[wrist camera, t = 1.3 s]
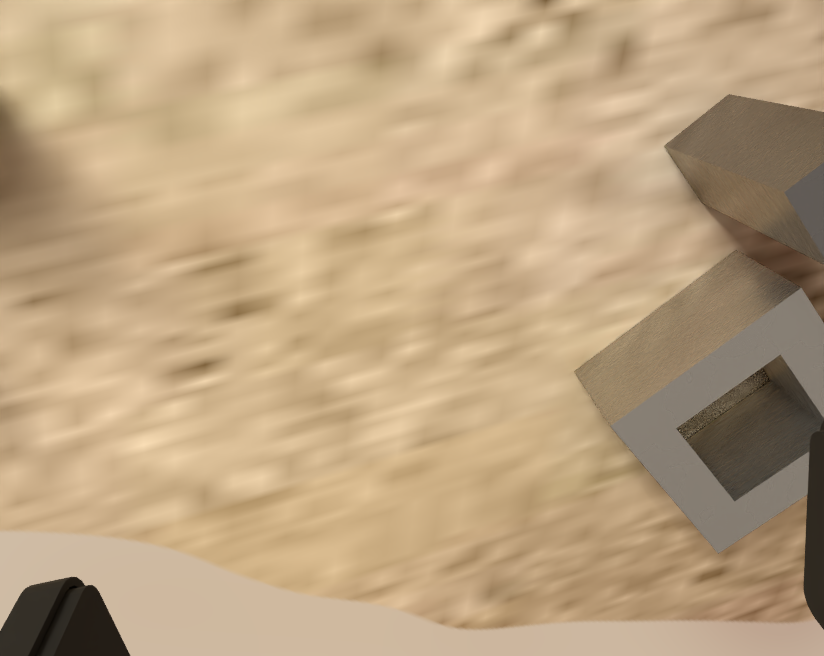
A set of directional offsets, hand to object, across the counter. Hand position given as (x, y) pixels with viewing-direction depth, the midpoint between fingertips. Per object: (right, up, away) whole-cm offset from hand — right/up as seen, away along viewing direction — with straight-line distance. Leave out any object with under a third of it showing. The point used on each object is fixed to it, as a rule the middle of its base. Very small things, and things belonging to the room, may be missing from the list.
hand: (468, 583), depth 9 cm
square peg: (+12, +11, +21) cm, 27 cm away
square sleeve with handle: (+16, +3, +25) cm, 30 cm away
